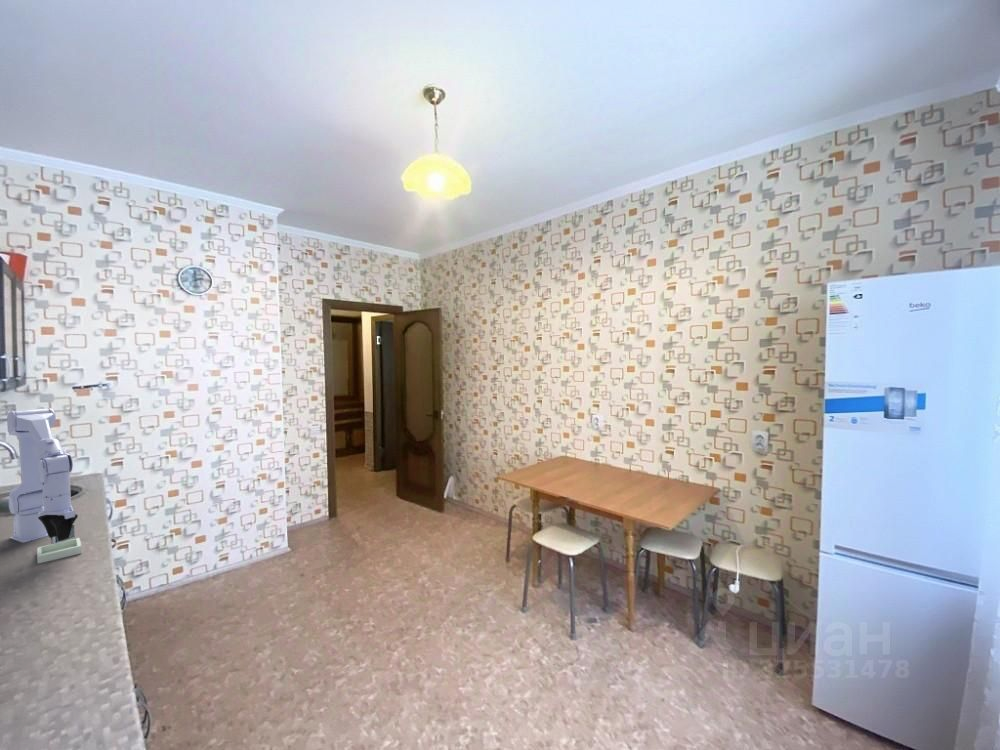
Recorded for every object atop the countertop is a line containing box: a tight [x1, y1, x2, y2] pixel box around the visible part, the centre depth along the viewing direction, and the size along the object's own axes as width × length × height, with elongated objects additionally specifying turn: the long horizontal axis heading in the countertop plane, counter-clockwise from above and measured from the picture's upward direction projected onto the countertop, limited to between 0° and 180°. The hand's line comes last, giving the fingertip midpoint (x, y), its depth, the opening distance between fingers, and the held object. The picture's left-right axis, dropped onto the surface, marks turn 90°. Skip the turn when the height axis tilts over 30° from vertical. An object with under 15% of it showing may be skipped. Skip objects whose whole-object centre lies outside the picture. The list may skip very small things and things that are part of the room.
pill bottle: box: [50, 522, 76, 544], centre depth 132 cm, size 5×5×9 cm
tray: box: [36, 537, 83, 564], centre depth 124 cm, size 9×9×2 cm
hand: (59, 537), depth 124 cm, fingers open, 5 cm apart
